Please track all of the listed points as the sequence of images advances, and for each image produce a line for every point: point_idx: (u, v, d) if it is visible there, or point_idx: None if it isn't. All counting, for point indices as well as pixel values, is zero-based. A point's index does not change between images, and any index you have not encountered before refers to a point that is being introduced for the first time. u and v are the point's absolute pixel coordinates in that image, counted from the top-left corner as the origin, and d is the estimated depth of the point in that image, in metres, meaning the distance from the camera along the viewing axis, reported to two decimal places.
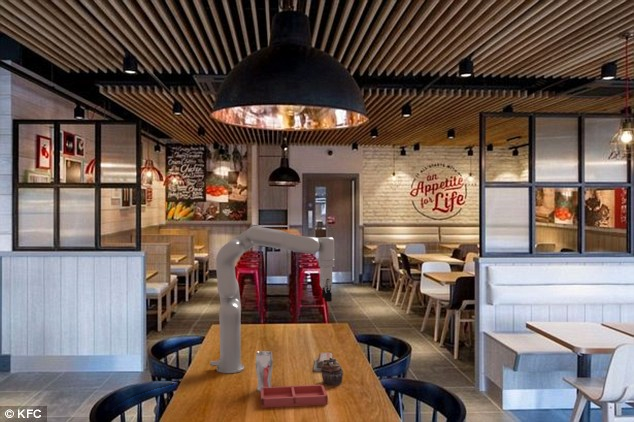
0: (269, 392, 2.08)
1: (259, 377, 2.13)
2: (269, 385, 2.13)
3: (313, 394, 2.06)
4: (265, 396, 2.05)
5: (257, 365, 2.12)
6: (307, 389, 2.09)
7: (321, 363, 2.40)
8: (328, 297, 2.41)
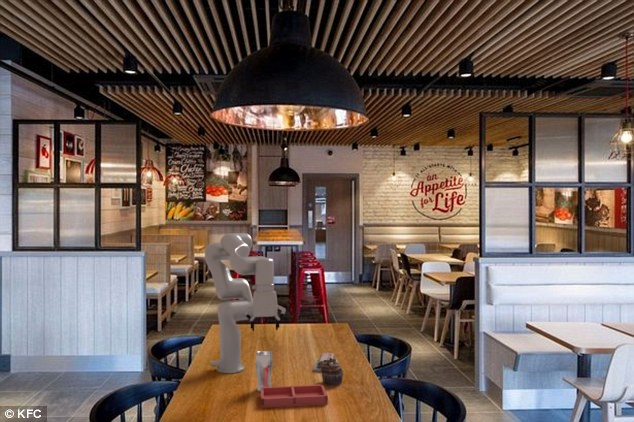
0: (269, 392, 2.08)
1: (259, 377, 2.13)
2: (269, 385, 2.13)
3: (313, 394, 2.06)
4: (265, 396, 2.05)
5: (257, 365, 2.12)
6: (307, 389, 2.09)
7: (321, 363, 2.40)
8: None
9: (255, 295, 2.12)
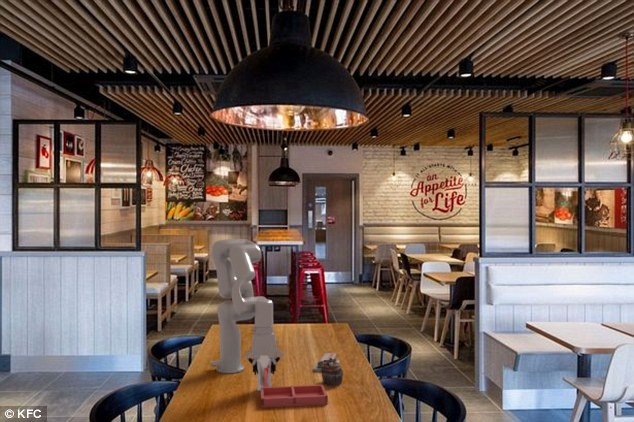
0: (269, 392, 2.08)
1: (259, 377, 2.13)
2: (269, 385, 2.13)
3: (313, 394, 2.06)
4: (265, 396, 2.05)
5: (257, 365, 2.12)
6: (307, 389, 2.09)
7: (321, 363, 2.40)
8: (275, 368, 2.15)
9: (254, 337, 2.12)
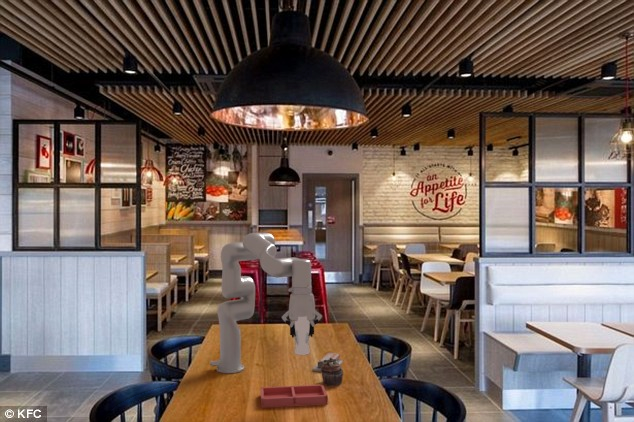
0: (269, 392, 2.08)
1: (297, 340, 2.03)
2: (307, 348, 2.04)
3: (313, 394, 2.06)
4: (265, 396, 2.05)
5: (295, 327, 2.03)
6: (307, 389, 2.09)
7: (320, 363, 2.40)
8: None
9: (292, 298, 2.03)
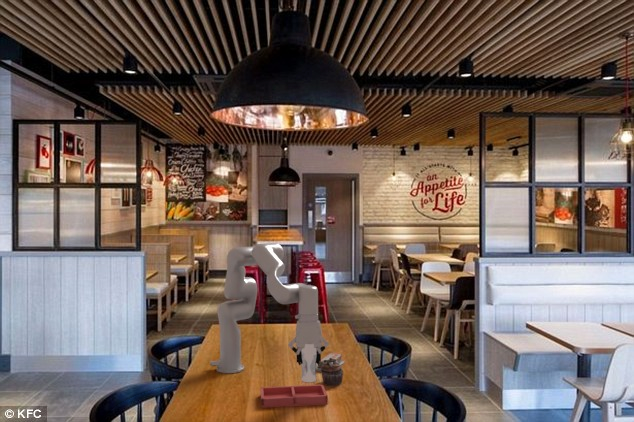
0: (269, 392, 2.08)
1: (303, 367, 2.02)
2: (314, 376, 2.02)
3: (313, 394, 2.06)
4: (265, 396, 2.05)
5: (302, 354, 2.01)
6: (307, 389, 2.09)
7: (320, 363, 2.40)
8: None
9: (299, 325, 2.01)
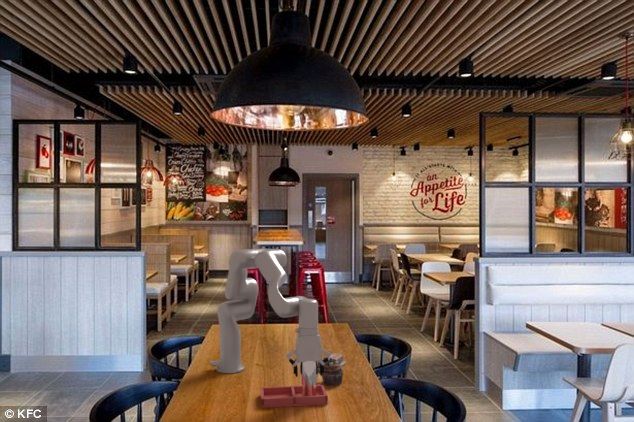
0: (269, 392, 2.08)
1: (304, 384, 2.02)
2: (314, 392, 2.03)
3: None
4: (265, 396, 2.05)
5: (302, 371, 2.02)
6: None
7: None
8: None
9: (299, 339, 2.01)
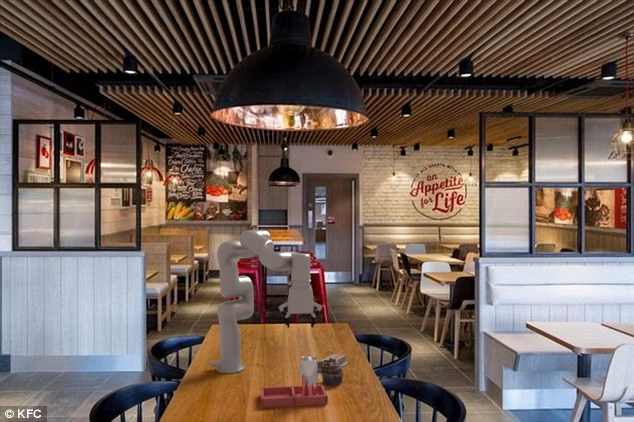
0: (269, 392, 2.08)
1: (304, 384, 2.02)
2: (314, 392, 2.03)
3: None
4: (265, 396, 2.05)
5: (302, 371, 2.02)
6: None
7: (320, 363, 2.40)
8: None
9: (291, 291, 2.07)
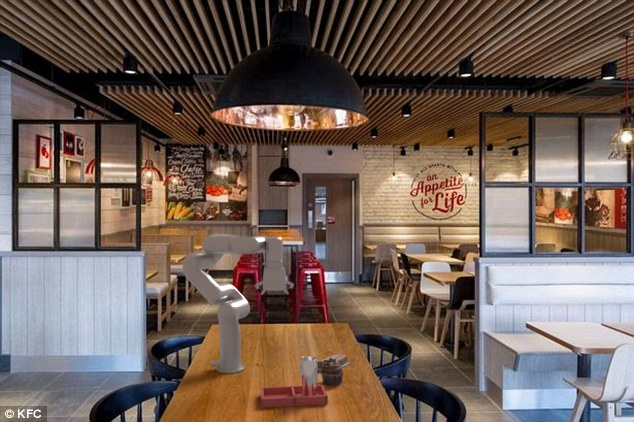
0: (269, 392, 2.08)
1: (304, 384, 2.02)
2: (314, 392, 2.03)
3: None
4: (265, 396, 2.05)
5: (302, 371, 2.02)
6: None
7: (320, 363, 2.40)
8: (287, 298, 2.33)
9: (265, 271, 2.29)
